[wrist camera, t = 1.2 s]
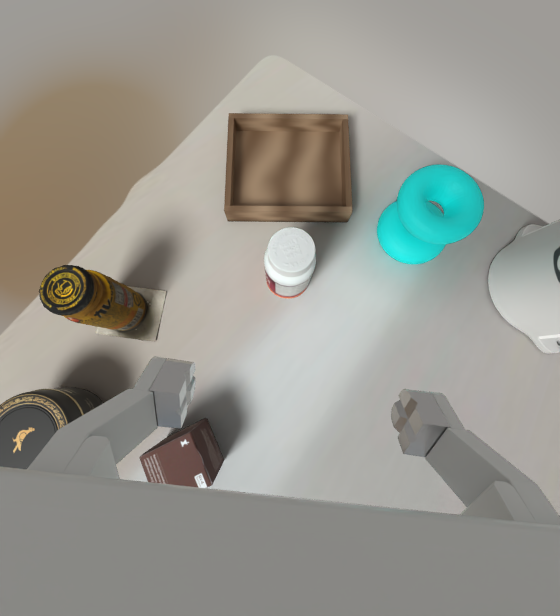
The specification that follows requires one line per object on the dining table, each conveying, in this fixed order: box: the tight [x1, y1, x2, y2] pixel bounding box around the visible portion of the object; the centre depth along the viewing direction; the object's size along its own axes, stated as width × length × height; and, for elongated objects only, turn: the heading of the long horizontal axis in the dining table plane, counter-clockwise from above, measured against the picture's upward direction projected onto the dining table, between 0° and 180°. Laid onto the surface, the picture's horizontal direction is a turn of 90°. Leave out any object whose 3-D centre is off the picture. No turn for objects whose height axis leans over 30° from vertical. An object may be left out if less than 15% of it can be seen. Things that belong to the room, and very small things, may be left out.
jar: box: [0, 387, 103, 469], centre depth 33 cm, size 10×10×8 cm
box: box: [140, 418, 224, 488], centre depth 33 cm, size 6×6×7 cm
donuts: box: [377, 165, 484, 264], centre depth 37 cm, size 10×10×10 cm
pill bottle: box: [264, 227, 316, 299], centre depth 35 cm, size 6×6×11 cm
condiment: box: [39, 265, 166, 342], centre depth 34 cm, size 7×8×12 cm
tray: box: [224, 113, 352, 222], centre depth 43 cm, size 18×16×3 cm
